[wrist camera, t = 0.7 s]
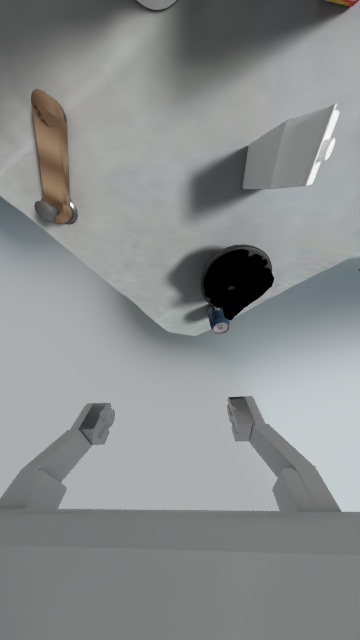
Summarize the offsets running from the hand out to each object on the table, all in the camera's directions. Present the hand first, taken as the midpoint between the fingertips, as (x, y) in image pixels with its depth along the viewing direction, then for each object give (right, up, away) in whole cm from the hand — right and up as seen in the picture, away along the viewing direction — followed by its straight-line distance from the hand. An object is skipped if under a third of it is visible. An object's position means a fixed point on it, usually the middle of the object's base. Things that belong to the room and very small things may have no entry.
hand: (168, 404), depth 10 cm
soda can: (+16, +11, +51) cm, 55 cm away
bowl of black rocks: (+17, +24, +40) cm, 49 cm away
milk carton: (+19, +41, +23) cm, 51 cm away
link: (-27, +40, +23) cm, 54 cm away
